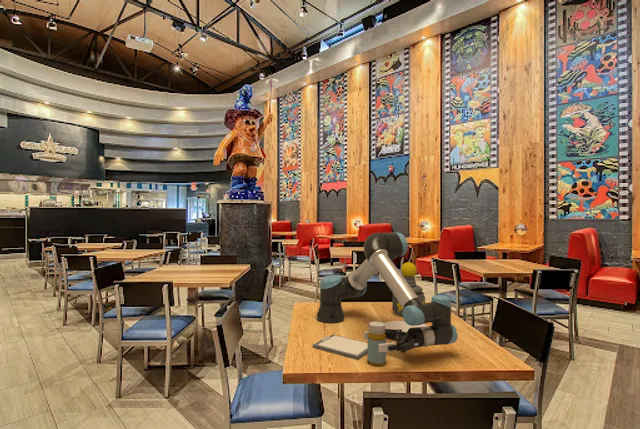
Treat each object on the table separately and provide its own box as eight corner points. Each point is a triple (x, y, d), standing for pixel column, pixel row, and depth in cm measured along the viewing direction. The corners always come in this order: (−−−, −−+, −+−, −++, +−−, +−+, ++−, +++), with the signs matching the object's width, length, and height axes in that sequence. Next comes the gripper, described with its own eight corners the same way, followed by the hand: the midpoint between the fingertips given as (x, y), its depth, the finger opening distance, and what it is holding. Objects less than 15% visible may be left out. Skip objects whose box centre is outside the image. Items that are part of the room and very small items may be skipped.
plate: (388, 320, 188) (388, 317, 188) (444, 330, 173) (444, 326, 173) (367, 336, 163) (367, 332, 163) (430, 348, 148) (430, 344, 148)
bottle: (365, 359, 136) (366, 321, 136) (383, 358, 136) (383, 320, 137) (369, 366, 129) (370, 326, 129) (388, 366, 129) (388, 326, 130)
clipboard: (312, 347, 147) (312, 342, 147) (332, 336, 161) (332, 332, 161) (358, 360, 135) (358, 354, 135) (375, 347, 148) (375, 342, 148)
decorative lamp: (402, 307, 214) (402, 259, 214) (431, 313, 201) (431, 262, 201) (385, 313, 201) (386, 262, 201) (415, 320, 187) (415, 265, 188)
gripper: (438, 358, 126) (386, 365, 120) (404, 335, 150) (358, 340, 144) (439, 338, 126) (386, 343, 120) (404, 318, 150) (359, 322, 144)
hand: (371, 341), depth 132 cm, fingers open, 13 cm apart
